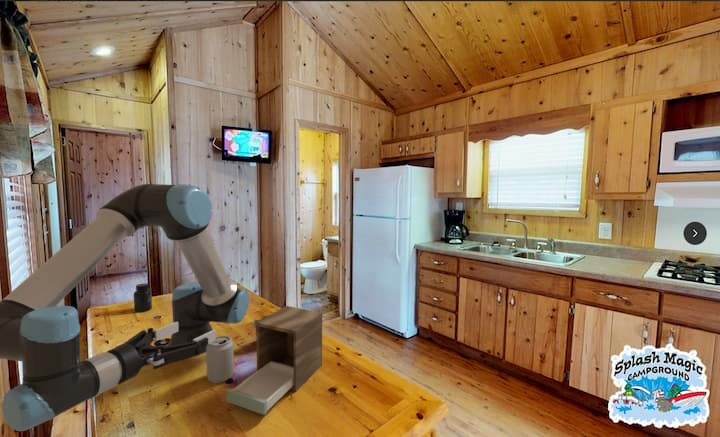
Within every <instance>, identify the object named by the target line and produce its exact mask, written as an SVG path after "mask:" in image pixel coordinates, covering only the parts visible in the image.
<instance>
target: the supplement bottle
mask: <svg viewBox="0 0 720 437" xmlns="http://www.w3.org/2000/svg"><path fill="white" fill-rule="evenodd" d="M152 294H153V293H152V290H151V289H150V286H149V283H139V284H136V285H135V291H134V292H133V307H134V308H133V310H134V312H135V313H145V312H148V311H150V310H152V308H153V300H152V299H153V298H152V297H153V296H152Z"/></svg>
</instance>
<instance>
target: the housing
mask: <svg viewBox="0 0 720 437" xmlns="http://www.w3.org/2000/svg"><path fill="white" fill-rule="evenodd" d="M266 316H267V317H266ZM266 316H265V317H266V318H264V317H263V318H264V319H263V318H261V319H262V320H261V319H259V320H260V321H258V322H257V338H256V372H257V371H258V370H259V369H260V368H262V367H263V366H264V365H266V364H267V363H268V362H270V361H273V362H277V363H281V364H284V365H288V366H292V367H294V385H293V386H292V387H291V388H290V389H289V390H288V391H292V392H297V391H298V390H300V388H301V387H302V386H304V385H305V383H306V382H307V381H308V380H309V379H310V378H311V377H312V376H313V375H315V373H316V372H317V371H319V369H320V368H322V366H323V312H320V311H314V310H311V309H310V310H309V309H304V308H300V307H299V308H298V307H294V306H289V305H285V306H284V307H281V308H280V309H277V310H276V311H275V312H272V313H271V314H269V316H268V315H266Z"/></svg>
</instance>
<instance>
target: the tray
mask: <svg viewBox="0 0 720 437" xmlns="http://www.w3.org/2000/svg"><path fill="white" fill-rule="evenodd" d="M293 385H294V367H292V366H288V365H284V364H281V363H277V362H273V361H270V362H268V363H267V364H266V365H264V366H263V367H262V368H260V369H259V370H258V371H257V370H256V371H255V372H253V373H252V374H251V375H250V376H249V377H248V378H246V379H245V380H244V381H242V382H241V383H240V384H238V385H237V386H236V387H234V388H231V387H230V388H229V387H228V389H226V402H227V403H229V404H233V405H235V406H238V407H241V408H244V409H247V410H249V411H251V412H255V413H258V414H259V415H262V416H266V415H267V414H268V411H269V410H270V409H271V408H272V407H273V406H274V405H275V404H276V403H277V402H278V401H279V400H280V399H281V398H282V397H283V396H284V395H285V394H286V393H287V392H288V391H290V390H289V389H290V388H291V387H292V386H293Z"/></svg>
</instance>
